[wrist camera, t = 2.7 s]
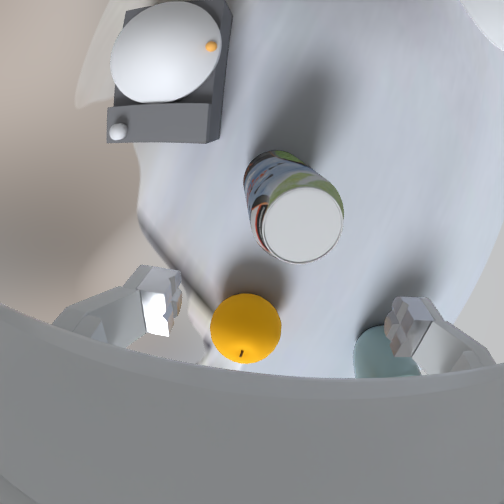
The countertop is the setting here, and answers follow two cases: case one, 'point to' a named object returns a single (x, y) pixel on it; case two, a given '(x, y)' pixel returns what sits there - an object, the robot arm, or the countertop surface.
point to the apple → (245, 328)
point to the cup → (380, 357)
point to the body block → (170, 73)
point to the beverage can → (292, 208)
